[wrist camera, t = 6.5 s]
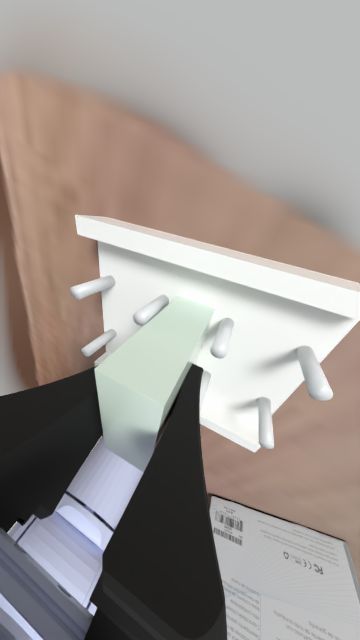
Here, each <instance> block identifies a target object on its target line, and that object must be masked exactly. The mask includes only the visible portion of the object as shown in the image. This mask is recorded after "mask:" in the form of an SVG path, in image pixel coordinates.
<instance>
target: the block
mask: <svg viewBox="0 0 360 640" xmlns="http://www.w3.org/2000/svg"><path fill="white" fill-rule="evenodd" d="M214 311H215V308H212V307H209V306H206V305H203V304H200V303H198V302H195V301H192V300H189V299H186V298H183V297H181V296H178V297H177V298H176V299H175V300H174V301H172V302H171V303H170V304H169V305H168V306H167V307H165V308H164V309H163V310H162V311H161V312H160V313H158V314H157V315H156V316H155V317H154V318H153V319H152V320H150V321H149V322H148V323H147V324H146V325H145V326H143V327H142V328H141V329H140V330H139V331H138V332H136V333H135V334H134V335H133V336H132V337H131V338H129V339H128V340H127V341H126V342H125V343H124V344H123V345H121V346H120V347H119V348H118V349H117V350H116V351H114V352H113V353H112V354H111V355H110V356H109V357H107V358H106V359H105V360H104V361H103V362H102V363H101V364H99V365H98V366H97V367H96V368H95V369H94V370H95V378H96V385H97V392H98V400H99V407H100V414H101V422H102V429H103V436H104V444H105V448H107V449H108V450H110V451H111V452H113V453H114V454H116V455H117V456H119V457H120V458H122V459H124V460H125V461H127V462H128V463H130V464H131V465H133V466H134V467H136V468H137V469H139V470H140V471H142V472H143V473H144V471H145V469H146V467H147V465H148V463H149V461H150V459H151V457H152V454H153V452H154V450H155V448H156V446H157V444H158V442H159V440H160V438H161V436H162V434H163V432H164V430H165V428H166V426H167V424H168V422H169V419H170V417H171V415H172V413H173V410H174V408H175V405H176V402H177V399H178V397H179V394H180V391H181V388H182V385H183V383H184V380H185V377H186V375H187V373H188V371H189V369H190V367H191V366H192V364H195V365H196V363H197V360H198V357H199V354H200V352H201V349H202V346H203V343H204V340H205V337H206V334H207V331H208V328H209V326H210V323H211V320H212V317H213V314H214Z"/></svg>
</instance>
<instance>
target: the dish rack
mask: <svg viewBox="0 0 360 640" xmlns="http://www.w3.org/2000/svg"><path fill="white" fill-rule="evenodd" d="M75 219H76V226H77V234H78V235H82V236H85V237H88V238H91V239H95V240H98V252H99V266H100V278H99V279H96V280H92V281H89V282H86V283H83V284H80V285H77V286H74V287H71V293H72V295H73V297H74V298H76V299H81V298H84V297H86V296H89V295H91V294H94V293H96V292H99V291H101V293H102V306H103V319H104V334H102V335H101V336H100V337H98V338H97V339H95V340H94V341H92V342H91V343H89V344H88V345H86V346H85V347H84V348H82V353H83V354H84V355H85V356H87V357H89V356H90V355H92V354H93V353H94V352H96V351H97V350H98V349H100V348H101V347H102V346H104V345H105V346H106V352H105V353H104V354H103V355H102V356H100V357H99V358H98V359H97V360H96V361H94V363H95V366H97V365H99V364H101V363H102V362H103V361H104V360H105V359H106V358H107V357H109V356H110V355H111V354H112V353H113V352H114V351H116V350H117V349H118V348H119V347H120V346H121V345H123V344H124V343H125V342H126V341H127V340H128V339H129V338H131V337H132V336H133V335H134V334H135V333H136V332H138V331H139V330H140V329H141V328H142V327H143V326H145V325H146V324H147V323H148V322H149V321H150V320H152V319H153V318H154V317H155V316H156V315H157V314H158V313H160V312H161V311H162V310H163V309H164V308H165V307H167V306H168V305H169V304H170V303H171V302H172V301H174V300H175V299H176V298H177V297H178V296H181V297H183V298H186V299H189V300H192V301H195V302H198V303H200V304H203V305H206V306H209V307H212V308H215V311H214V314H213V317H212V320H211V323H210V326H209V328H208V331H207V334H206V337H205V340H204V343H203V346H202V349H201V352H200V354H199V357H198V360H197V363H196V365H197V366H199V367H202V368H203V370H204V371H203V374H202V379H201V388H200V424H201V425H203V426H205V427H207V428H209V429H211V430H213V431H215V432H217V433H219V434H220V435H222V436H224V437H226V438H228V439H230V440H232V441H234V442H236V443H238V444H239V445H241V446H243V447H245V448H247V449H249V450H251V451H253V452H256V451H257V450H258V449H259V448H260V445H261V446H262V447H264V448H267V449H272V448H273V447H274V440H273V427H272V414H273V413H274V412H275V411H276V410H277V409H278V408H279V407H280V406H281V404H282V403H283V402H284V401H285V400H286V399H287V398H288V397H289V396H290V395H291V394H292V393H293V391H294V390H295V389H296V388H297V387H298V386H299V385H300V384H301V383H302V382H303V381H304V380H305V382H306V386H307V389H308V392H309V395H310V396H311V397H312V398H313V399H315V400H319V401H326V400H329V399H331V398H332V397H333V393H332V391H331V388H330V386H329V384H328V382H327V380H326V377H325V375H324V373H323V371H322V369H321V366H320V364H319V363H320V362H321V361H322V360H323V359H324V358H325V357H326V356H327V355H328V354H329V352H330V351H331V350H332V349H333V348H334V347H335V346H336V345H337V344H338V343H339V342H340V341H341V340H342V338H343V337H344V336H345V335H346V334H347V333H348V332H349V331H350V330H351V329H352V328H353V327H354V325H355V324H356V323H357V322H358V321H359V320H360V283H357V282H353V281H349V280H346V279H342V278H338V277H334V276H330V275H326V274H323V273H319V272H315V271H311V270H307V269H304V268H300V267H296V266H292V265H288V264H284V263H281V262H277V261H273V260H269V259H265V258H262V257H258V256H254V255H250V254H246V253H242V252H239V251H235V250H231V249H227V248H223V247H220V246H216V245H212V244H208V243H204V242H200V241H197V240H193V239H189V238H185V237H181V236H178V235H174V234H170V233H166V232H162V231H158V230H155V229H151V228H147V227H143V226H139V225H136V224H132V223H128V222H124V221H120V220H116V219H113V218H109V217H99V216H85V215H75Z"/></svg>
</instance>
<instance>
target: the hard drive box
mask: <svg viewBox="0 0 360 640" xmlns="http://www.w3.org/2000/svg"><path fill="white" fill-rule="evenodd" d="M209 512H210V518H211V524H212V530H213V536H214V542H215V547H216V553H217V558H218V563H219V569H220V574H221V579H222V584H223V589H224V595H225V605H226V621H227V640H360V586H359V583H358V579H357V576H356V572H355V569H354V565H353V562H352V558H351V555H350V551H349V548H348V544H347V543H346V542H345V541H343V540H340V539H337V538H334V537H331V536H328V535H325V534H322V533H319V532H317V531H314V530H312V529H309V528H307V527H304V526H301V525H298V524H294V523H291V522H288V521H285V520H281V519H278V518H275V517H272V516H270V515H267V514H264V513H261V512H258V511H255V510H253V509H250V508H247V507H244V506H243V505H240V504H237V503H234V502H231V501H226V500H224V499H221V498H218V497H215V496H212V497H211V501H210V507H209Z"/></svg>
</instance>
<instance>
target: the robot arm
mask: <svg viewBox="0 0 360 640" xmlns="http://www.w3.org/2000/svg"><path fill="white" fill-rule="evenodd" d="M97 366H98V365H97ZM97 366H95V367H93V368H91V369H88V370H86V371H83V372H81V373H78V374H75V375H73V376H70V377H67V378H64V379H61V380H58V381H55V382H52V383H49V384H46V385H42V386H39V387H35V388H32V389H28V390H24V391H20V392H17V393H13V394H9V395H4V396H0V640H227V621H226V605H225V595H224V589H223V584H222V579H221V574H220V569H219V563H218V558H217V553H216V547H215V542H214V536H213V530H212V524H211V518H210V512H209V506H208V499H207V492H206V484H205V477H204V470H203V460H202V450H201V437H200V388H201V379H202V374H203V371H204V370H203V368H202V367H199V366H197V365H195V364H192V366H191V367H190V369H189V371H188V373H187V375H186V377H185V380H184V383H183V385H182V388H181V391H180V394H179V397H178V399H177V402H176V405H175V408H174V410H173V413H172V415H171V417H170V419H169V422H168V424H167V426H166V428H165V430H164V432H163V434H162V436H161V438H160V440H159V442H158V444H157V446H156V448H155V450H154V452H153V454H152V457H151V459H150V461H149V463H148V465H147V467H146V469H145V471H144V473H143V472H142V471H140V470H139V469H137V468H136V467H134V466H133V465H131V464H130V463H128V462H127V461H125V460H124V459H122V458H120V457H119V456H117V455H116V454H114V453H113V452H111V451H110V450H108V449H107V448H105V444H104V436H103V437H102V439H101V440H100V441H99V443H98V444H97V446H96V447H95V448H94V449H93V447H94V446H95V444H96V443H97V441H98V439H99V438H100V437H101V435H102V434H103V429H102V422H101V414H100V407H99V400H98V392H97V385H96V378H95V370H94V369H95V368H96V367H97ZM92 449H93V451H92V452H91V450H92ZM90 452H91V453H90ZM89 454H90V455H89ZM88 455H89V456H88ZM86 458H87V459H86ZM16 521H17V524H16V525H15V526H14V527H13V528H12V530H11V531H10V532H9V533H8V534H7V532H8V531H9V530H10V528H11V527H12V526H13V525H14V523H15V522H16Z"/></svg>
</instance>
